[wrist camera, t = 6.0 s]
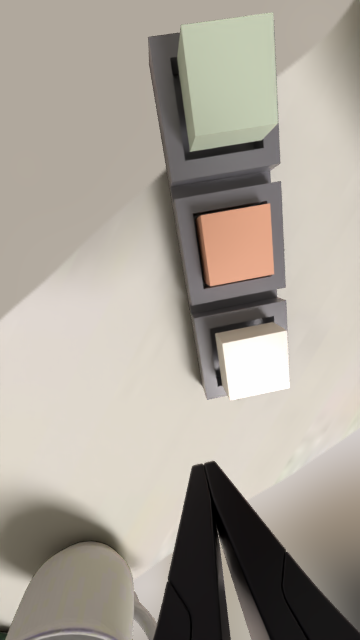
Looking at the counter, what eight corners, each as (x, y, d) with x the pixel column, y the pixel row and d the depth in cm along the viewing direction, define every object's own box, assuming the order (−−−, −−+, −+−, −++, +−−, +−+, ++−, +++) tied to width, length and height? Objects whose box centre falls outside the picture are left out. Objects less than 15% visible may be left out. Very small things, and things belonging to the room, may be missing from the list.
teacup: (16, 575, 26) (-43, 714, 18) (70, 509, 24) (30, 631, 16) (127, 610, 29) (117, 738, 21) (181, 554, 27) (191, 672, 20)
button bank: (149, 64, 15) (148, 36, 13) (258, 48, 15) (273, 19, 13) (202, 386, 21) (207, 399, 20) (277, 370, 22) (289, 382, 20)
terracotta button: (195, 219, 17) (200, 215, 15) (257, 208, 17) (270, 203, 15) (204, 282, 18) (210, 286, 16) (261, 271, 18) (274, 274, 16)
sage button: (177, 58, 13) (181, 24, 11) (256, 47, 13) (273, 12, 11) (190, 151, 14) (195, 136, 12) (261, 140, 14) (277, 123, 13)
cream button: (214, 333, 18) (222, 343, 16) (272, 322, 18) (287, 330, 16) (222, 385, 19) (229, 400, 17) (276, 374, 19) (289, 387, 17)
